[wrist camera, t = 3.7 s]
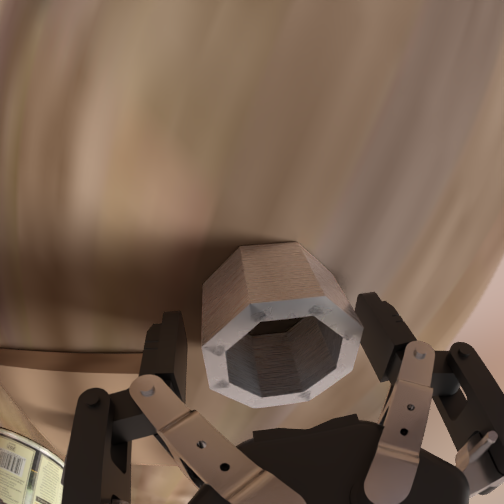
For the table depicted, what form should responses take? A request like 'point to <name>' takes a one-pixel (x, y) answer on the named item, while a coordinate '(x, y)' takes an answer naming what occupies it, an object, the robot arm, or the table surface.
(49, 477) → the coffee can
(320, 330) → the ring
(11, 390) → the post block
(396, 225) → the table surface
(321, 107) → the table surface
